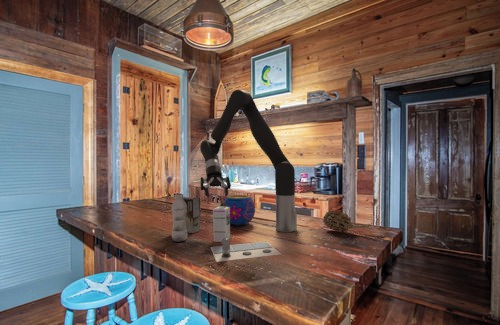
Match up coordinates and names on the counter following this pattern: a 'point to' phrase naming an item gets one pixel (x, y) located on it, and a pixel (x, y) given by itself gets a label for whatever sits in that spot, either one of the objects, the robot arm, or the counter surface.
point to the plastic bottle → (179, 218)
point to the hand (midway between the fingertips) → (217, 195)
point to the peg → (226, 247)
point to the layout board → (245, 251)
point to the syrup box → (221, 223)
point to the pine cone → (340, 221)
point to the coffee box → (192, 214)
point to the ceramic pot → (240, 209)
